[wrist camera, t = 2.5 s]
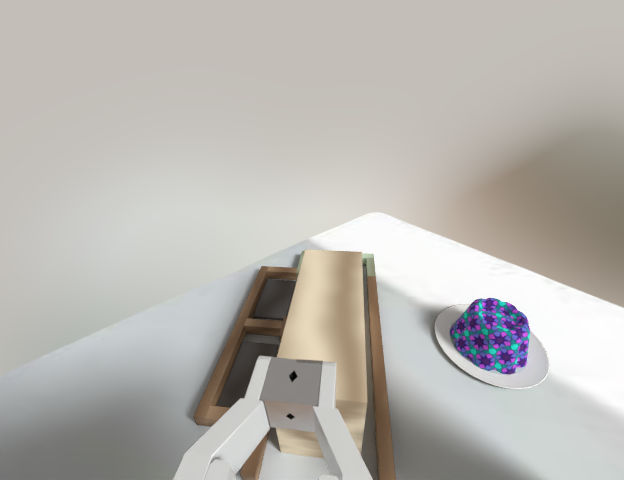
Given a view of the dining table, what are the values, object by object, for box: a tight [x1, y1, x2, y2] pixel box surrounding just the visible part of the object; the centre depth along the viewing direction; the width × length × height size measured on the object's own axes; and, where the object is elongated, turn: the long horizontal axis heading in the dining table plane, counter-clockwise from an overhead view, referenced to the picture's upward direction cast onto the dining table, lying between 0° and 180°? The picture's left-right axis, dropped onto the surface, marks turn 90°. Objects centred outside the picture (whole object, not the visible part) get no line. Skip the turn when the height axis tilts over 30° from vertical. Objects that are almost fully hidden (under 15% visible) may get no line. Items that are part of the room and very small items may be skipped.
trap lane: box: [193, 251, 396, 480], centre depth 36 cm, size 18×32×2 cm, turn 173°
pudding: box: [435, 298, 550, 389], centre depth 33 cm, size 12×12×5 cm
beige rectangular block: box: [276, 250, 367, 458], centre depth 30 cm, size 7×18×10 cm, turn 173°
